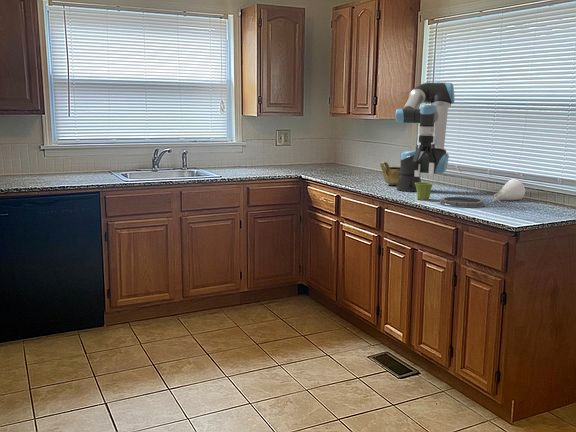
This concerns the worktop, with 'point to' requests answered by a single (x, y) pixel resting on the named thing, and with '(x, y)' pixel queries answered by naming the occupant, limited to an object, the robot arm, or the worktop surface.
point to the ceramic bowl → (390, 173)
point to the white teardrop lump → (510, 191)
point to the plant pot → (423, 190)
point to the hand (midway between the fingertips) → (424, 175)
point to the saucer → (462, 202)
